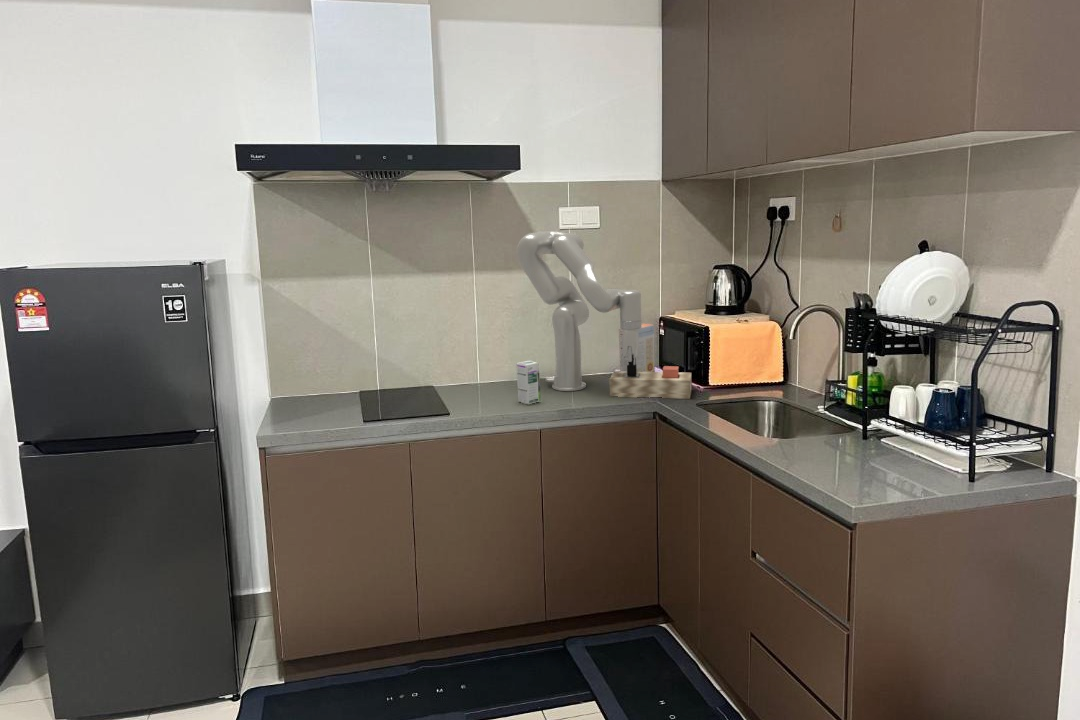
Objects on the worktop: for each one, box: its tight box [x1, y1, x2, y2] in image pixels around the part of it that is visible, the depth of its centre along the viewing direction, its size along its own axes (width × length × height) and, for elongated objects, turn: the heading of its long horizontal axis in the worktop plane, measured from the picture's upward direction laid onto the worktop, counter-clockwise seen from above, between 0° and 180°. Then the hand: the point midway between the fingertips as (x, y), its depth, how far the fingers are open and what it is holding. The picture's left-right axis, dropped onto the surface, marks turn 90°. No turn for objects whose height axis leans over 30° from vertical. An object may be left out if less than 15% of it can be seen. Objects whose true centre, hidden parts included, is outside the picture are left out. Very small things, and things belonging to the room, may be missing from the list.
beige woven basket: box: [609, 370, 692, 400], centre depth 281 cm, size 28×12×6 cm, turn 77°
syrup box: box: [516, 360, 542, 403], centre depth 275 cm, size 6×6×14 cm
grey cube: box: [623, 374, 639, 378], centre depth 283 cm, size 5×5×5 cm
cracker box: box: [618, 323, 656, 372], centre depth 300 cm, size 14×6×21 cm, turn 130°
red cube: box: [662, 365, 680, 378], centre depth 279 cm, size 5×5×5 cm
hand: (631, 375), depth 282 cm, fingers closed
